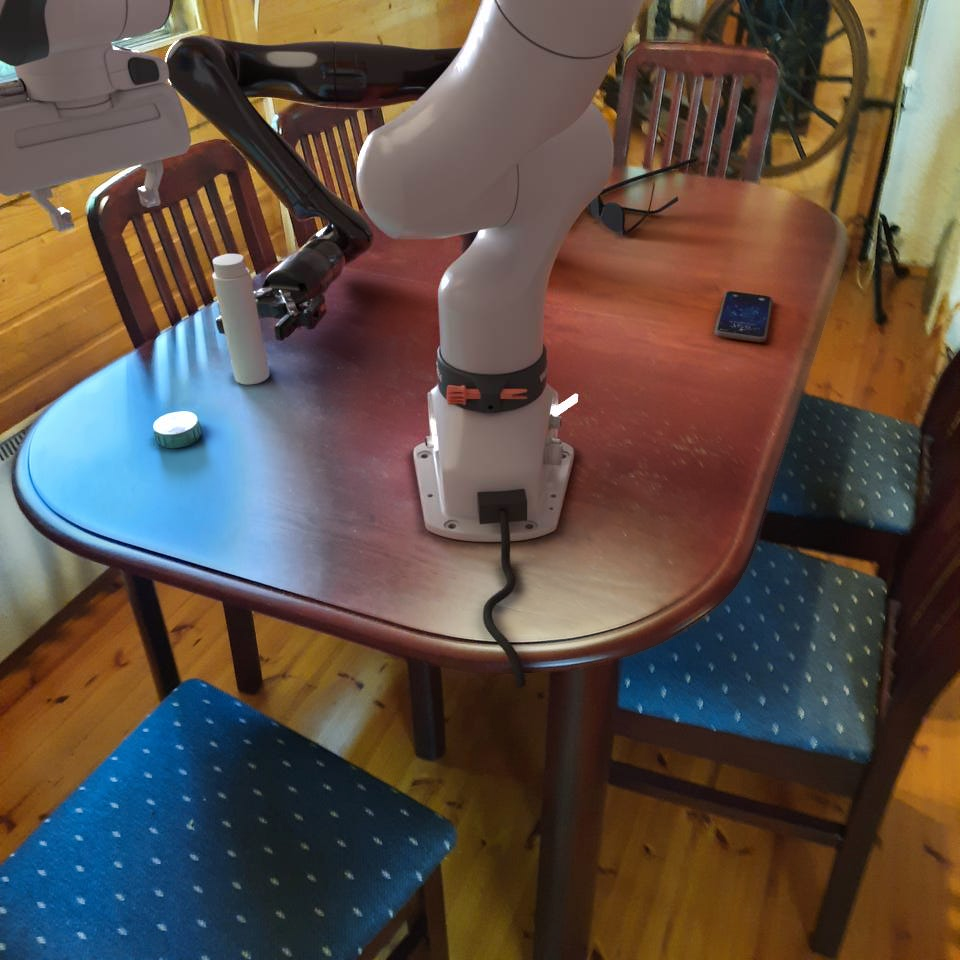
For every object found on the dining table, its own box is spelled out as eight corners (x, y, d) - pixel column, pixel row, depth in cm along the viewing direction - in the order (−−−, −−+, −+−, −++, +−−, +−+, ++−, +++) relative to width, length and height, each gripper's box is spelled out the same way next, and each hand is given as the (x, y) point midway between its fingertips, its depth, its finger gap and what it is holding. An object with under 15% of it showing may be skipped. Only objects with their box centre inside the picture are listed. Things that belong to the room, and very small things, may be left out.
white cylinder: (276, 370, 119) (254, 254, 109) (257, 387, 115) (233, 268, 105) (247, 365, 120) (222, 250, 110) (228, 381, 116) (201, 264, 106)
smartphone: (773, 295, 132) (766, 339, 121) (772, 301, 133) (765, 345, 121) (725, 289, 134) (713, 331, 123) (724, 295, 135) (712, 337, 123)
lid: (147, 440, 105) (143, 426, 104) (182, 420, 109) (178, 406, 108) (176, 453, 103) (172, 439, 102) (210, 432, 106) (207, 419, 105)
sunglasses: (688, 228, 158) (691, 201, 155) (616, 238, 155) (618, 210, 152) (648, 199, 171) (651, 174, 168) (581, 208, 168) (582, 182, 165)
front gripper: (-36, 96, 73) (19, 253, 81) (181, 58, 84) (211, 199, 92) (-61, 85, 76) (-6, 236, 85) (150, 51, 88) (181, 186, 96)
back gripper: (251, 254, 126) (195, 300, 114) (341, 262, 123) (293, 310, 111) (260, 301, 131) (207, 350, 118) (347, 310, 128) (301, 361, 115)
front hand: (109, 216), depth 89 cm, fingers open, 8 cm apart
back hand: (248, 331), depth 115 cm, fingers open, 8 cm apart
